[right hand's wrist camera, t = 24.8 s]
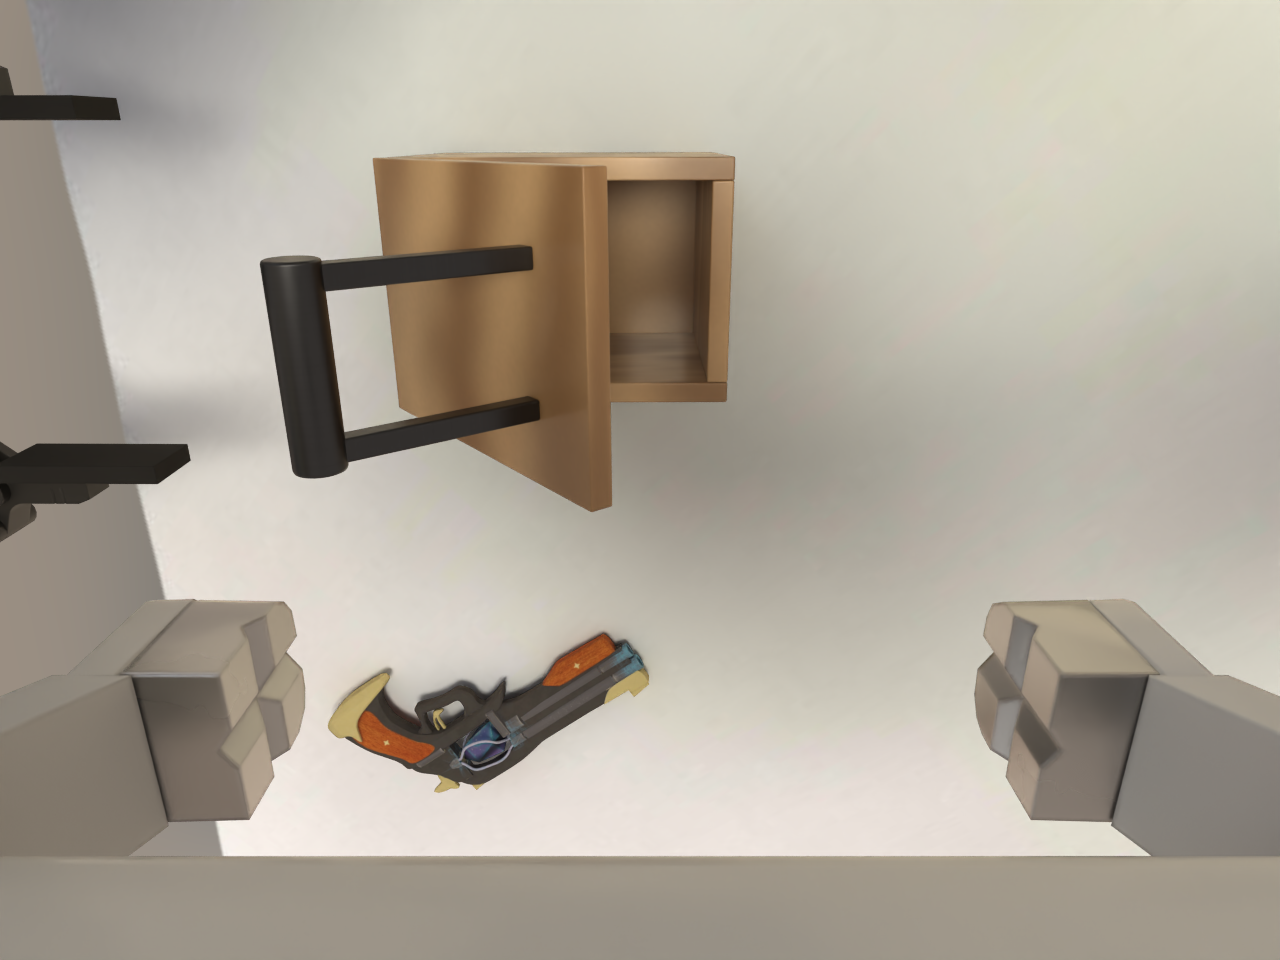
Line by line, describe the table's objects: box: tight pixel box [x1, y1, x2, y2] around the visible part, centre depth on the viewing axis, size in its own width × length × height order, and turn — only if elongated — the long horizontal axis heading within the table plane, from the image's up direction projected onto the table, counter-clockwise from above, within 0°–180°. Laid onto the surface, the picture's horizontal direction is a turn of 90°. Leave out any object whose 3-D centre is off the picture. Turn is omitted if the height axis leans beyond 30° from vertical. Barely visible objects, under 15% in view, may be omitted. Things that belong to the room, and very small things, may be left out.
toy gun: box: [328, 634, 649, 793], centre depth 55 cm, size 3×19×10 cm
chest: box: [387, 152, 735, 402], centre depth 41 cm, size 14×10×11 cm
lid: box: [260, 158, 612, 512], centre depth 28 cm, size 14×10×8 cm
